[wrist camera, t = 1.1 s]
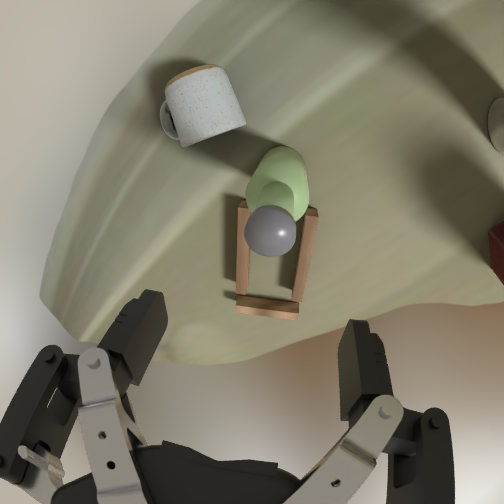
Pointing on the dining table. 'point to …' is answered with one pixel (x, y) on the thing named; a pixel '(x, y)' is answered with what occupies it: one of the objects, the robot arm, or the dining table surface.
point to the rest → (307, 239)
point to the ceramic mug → (200, 105)
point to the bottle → (276, 201)
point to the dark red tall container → (497, 250)
